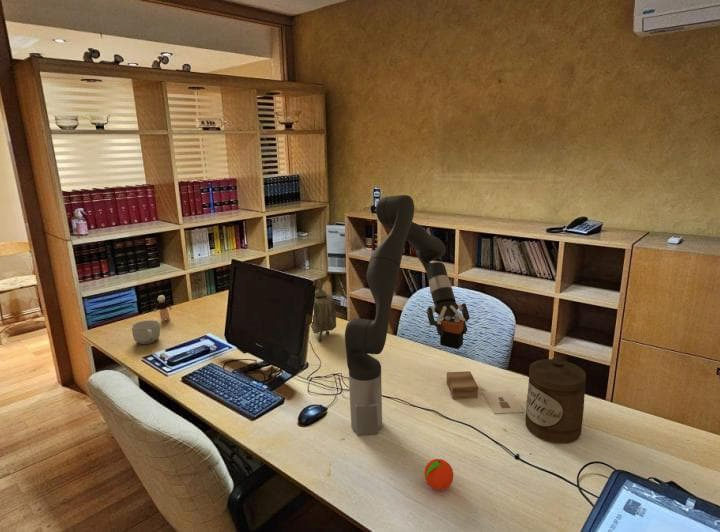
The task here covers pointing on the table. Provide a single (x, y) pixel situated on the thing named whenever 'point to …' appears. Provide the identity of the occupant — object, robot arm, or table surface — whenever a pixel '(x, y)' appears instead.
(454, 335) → the battery
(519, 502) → the table surface
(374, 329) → the robot arm
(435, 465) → the red tomato
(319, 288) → the grey brown tall figure
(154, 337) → the teacup
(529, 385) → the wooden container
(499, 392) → the page
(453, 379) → the base brick
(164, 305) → the grandmother figurine
